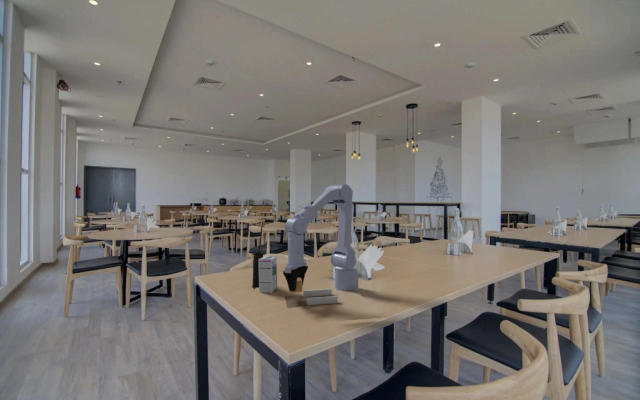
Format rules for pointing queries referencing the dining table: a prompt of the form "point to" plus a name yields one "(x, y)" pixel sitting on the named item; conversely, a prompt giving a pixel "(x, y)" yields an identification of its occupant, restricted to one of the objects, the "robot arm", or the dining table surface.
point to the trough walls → (319, 299)
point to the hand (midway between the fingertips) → (296, 288)
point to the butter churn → (256, 265)
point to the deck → (301, 301)
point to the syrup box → (268, 274)
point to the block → (298, 286)
